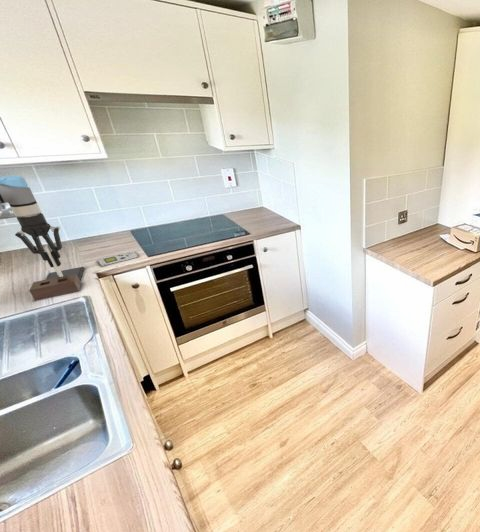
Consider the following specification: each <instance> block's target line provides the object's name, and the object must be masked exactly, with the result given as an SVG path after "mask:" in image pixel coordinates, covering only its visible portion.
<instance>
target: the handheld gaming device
mask: <svg viewBox="0 0 480 532" xmlns="http://www.w3.org/2000/svg"><path fill="white" fill-rule="evenodd" d="M138 257H139V256H138V255H137V253H136V252H135V251H129V252H125V253H120V254H117V255H111V256H108V257H103V258H99V259H98V260H97V261H98V263H99V265H100V266H101V267H103V266H108V265H113V264H116V263H120V262H124V261H127V260H132V259H135V258H138Z"/></svg>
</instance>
